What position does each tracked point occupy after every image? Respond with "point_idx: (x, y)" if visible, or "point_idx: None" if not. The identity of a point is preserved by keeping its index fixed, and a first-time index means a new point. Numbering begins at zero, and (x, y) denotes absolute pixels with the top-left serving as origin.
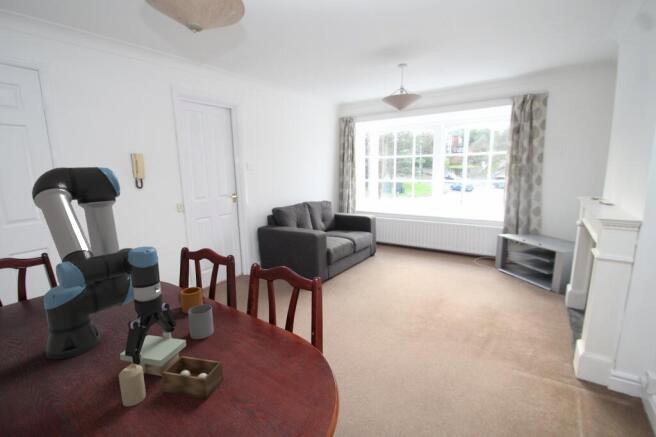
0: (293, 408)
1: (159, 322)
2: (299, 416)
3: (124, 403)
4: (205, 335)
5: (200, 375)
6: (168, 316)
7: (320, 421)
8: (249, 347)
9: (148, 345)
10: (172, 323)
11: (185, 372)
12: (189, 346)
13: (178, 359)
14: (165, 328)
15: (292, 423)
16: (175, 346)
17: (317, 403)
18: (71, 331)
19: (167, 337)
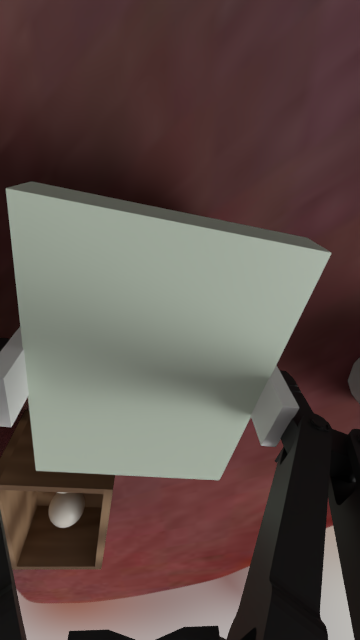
0: (60, 581)
1: (256, 575)
2: (45, 587)
3: None
4: (358, 401)
5: (57, 523)
6: (354, 610)
7: (45, 599)
8: (253, 504)
9: (165, 346)
10: (330, 500)
11: (58, 492)
12: (296, 366)
13: (86, 491)
14: (283, 463)
15: (28, 585)
16: (162, 469)
17: (79, 594)
18: None
19: (257, 405)
